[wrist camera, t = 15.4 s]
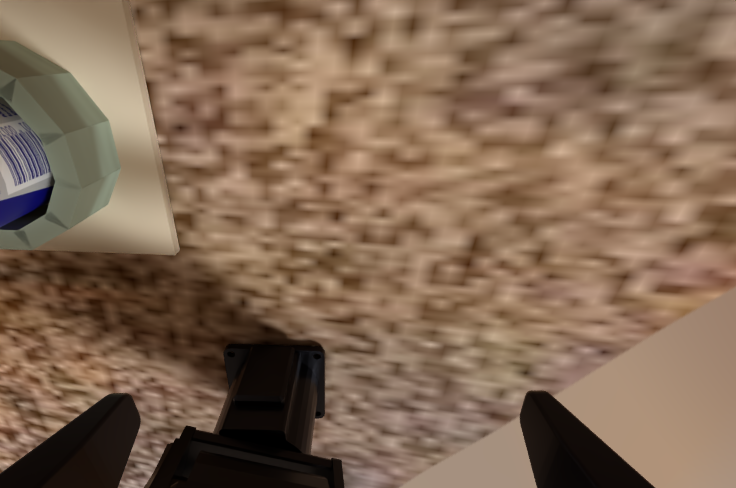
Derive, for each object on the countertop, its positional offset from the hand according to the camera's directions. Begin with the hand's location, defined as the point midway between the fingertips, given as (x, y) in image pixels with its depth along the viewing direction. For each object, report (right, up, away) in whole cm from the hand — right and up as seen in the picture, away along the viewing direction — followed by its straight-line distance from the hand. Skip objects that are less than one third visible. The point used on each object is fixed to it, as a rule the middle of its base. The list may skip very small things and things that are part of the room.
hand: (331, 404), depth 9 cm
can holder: (-16, +9, +10) cm, 20 cm away
